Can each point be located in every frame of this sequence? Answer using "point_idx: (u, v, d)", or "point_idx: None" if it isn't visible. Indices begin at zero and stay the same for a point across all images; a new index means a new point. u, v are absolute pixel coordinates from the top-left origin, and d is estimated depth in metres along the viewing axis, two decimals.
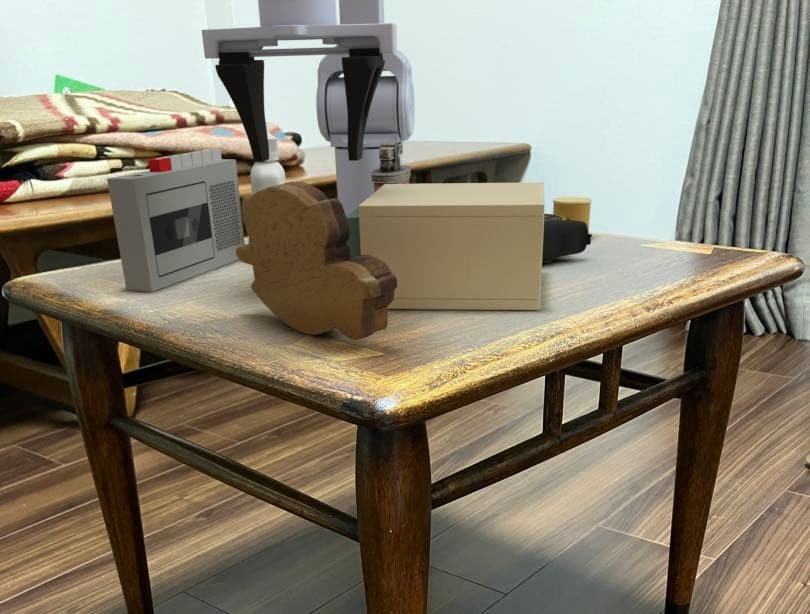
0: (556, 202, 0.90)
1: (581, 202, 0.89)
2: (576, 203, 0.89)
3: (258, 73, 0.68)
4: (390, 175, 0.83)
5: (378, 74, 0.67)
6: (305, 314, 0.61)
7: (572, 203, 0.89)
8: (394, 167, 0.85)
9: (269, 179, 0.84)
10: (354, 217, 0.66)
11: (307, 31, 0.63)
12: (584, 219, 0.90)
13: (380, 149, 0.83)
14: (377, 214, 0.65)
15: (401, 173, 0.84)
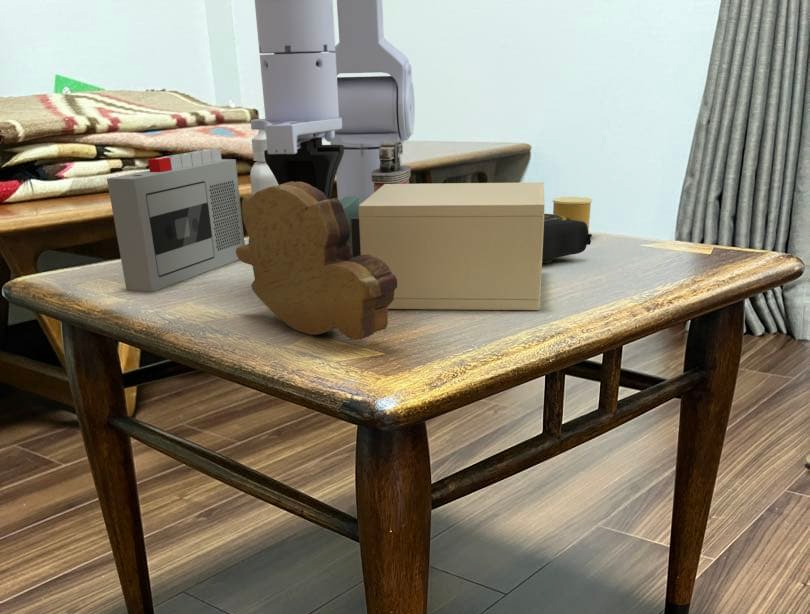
0: (556, 202, 0.90)
1: (581, 202, 0.89)
2: (576, 203, 0.89)
3: None
4: (390, 175, 0.83)
5: (315, 167, 0.68)
6: (305, 314, 0.61)
7: (572, 203, 0.89)
8: (394, 167, 0.85)
9: (269, 179, 0.84)
10: None
11: (263, 126, 0.67)
12: (584, 219, 0.90)
13: (380, 149, 0.83)
14: (377, 214, 0.65)
15: (401, 173, 0.84)
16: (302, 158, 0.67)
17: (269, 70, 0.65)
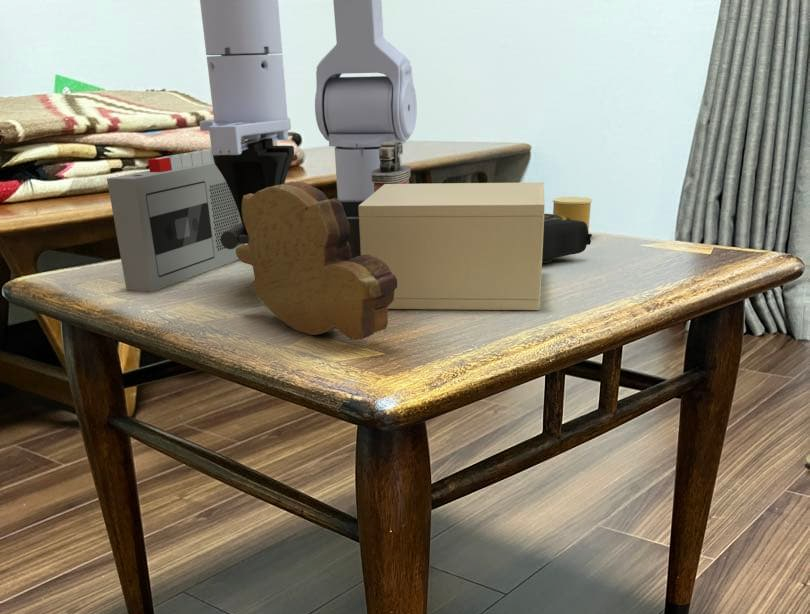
0: (556, 202, 0.90)
1: (581, 202, 0.89)
2: (576, 203, 0.89)
3: None
4: (390, 175, 0.83)
5: (263, 168, 0.68)
6: (305, 314, 0.61)
7: (572, 203, 0.89)
8: (394, 167, 0.85)
9: None
10: None
11: None
12: (584, 219, 0.90)
13: (380, 149, 0.83)
14: (377, 214, 0.65)
15: (401, 173, 0.84)
16: (250, 159, 0.68)
17: (215, 72, 0.65)
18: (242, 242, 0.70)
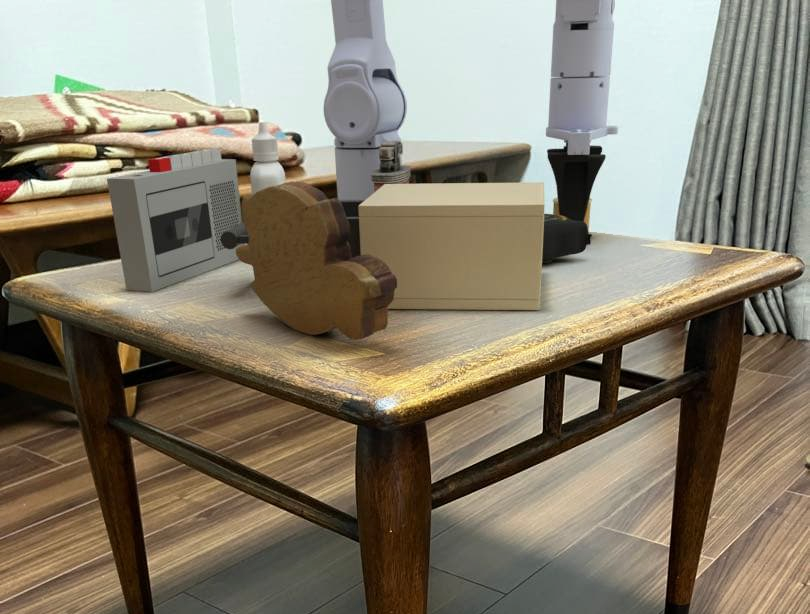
0: (556, 202, 0.90)
1: None
2: None
3: None
4: (390, 175, 0.83)
5: None
6: (305, 314, 0.61)
7: None
8: (394, 167, 0.85)
9: (269, 179, 0.84)
10: None
11: None
12: (584, 219, 0.90)
13: (380, 149, 0.83)
14: (377, 214, 0.65)
15: (401, 173, 0.84)
16: None
17: None
18: (242, 242, 0.70)
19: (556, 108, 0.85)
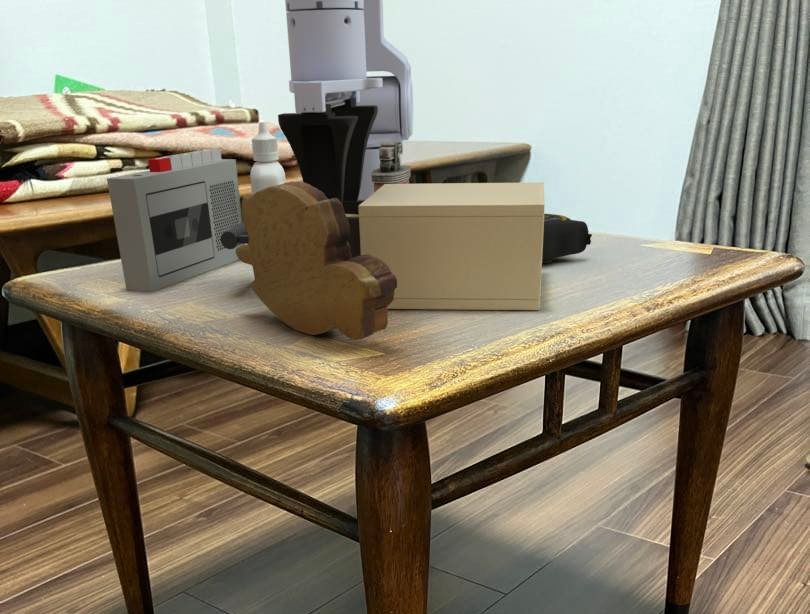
0: None
1: None
2: None
3: None
4: (390, 175, 0.83)
5: None
6: (305, 314, 0.61)
7: None
8: (394, 167, 0.85)
9: (269, 179, 0.84)
10: None
11: None
12: None
13: (380, 149, 0.83)
14: (377, 214, 0.65)
15: (401, 173, 0.84)
16: None
17: None
18: (242, 242, 0.70)
19: (293, 52, 0.64)
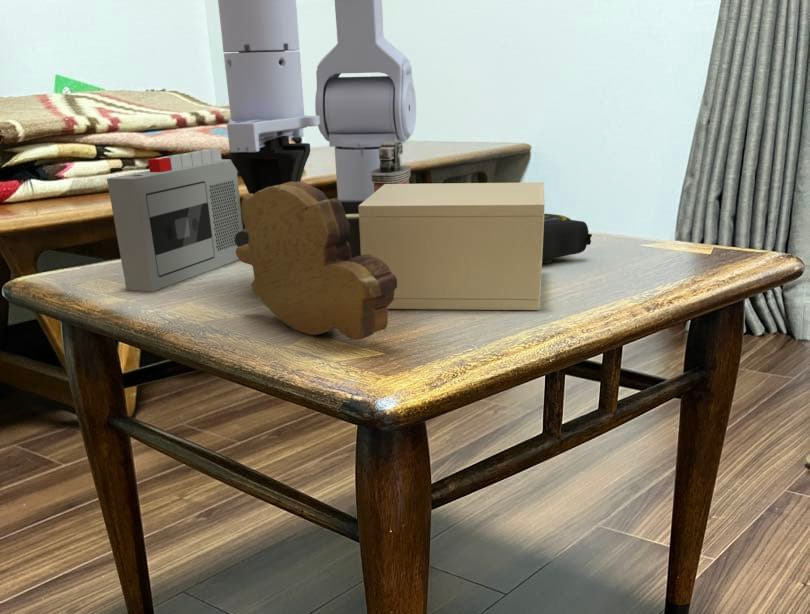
0: None
1: None
2: None
3: None
4: (390, 175, 0.83)
5: None
6: (305, 314, 0.61)
7: None
8: (394, 167, 0.85)
9: None
10: None
11: None
12: None
13: (380, 149, 0.83)
14: (377, 214, 0.65)
15: (401, 173, 0.84)
16: None
17: None
18: None
19: (231, 92, 0.66)
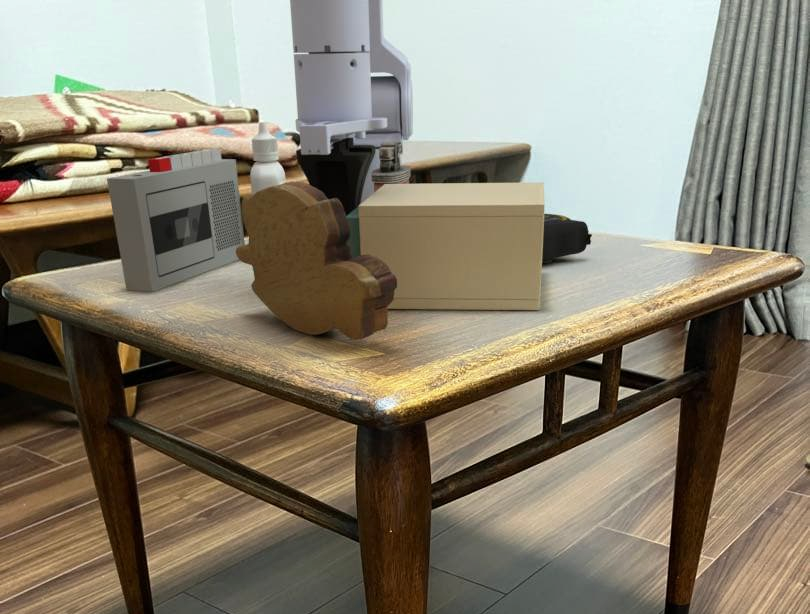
0: None
1: None
2: None
3: None
4: (390, 175, 0.83)
5: None
6: (305, 314, 0.61)
7: None
8: (394, 167, 0.85)
9: (269, 179, 0.84)
10: (354, 217, 0.66)
11: None
12: None
13: (380, 149, 0.83)
14: (377, 214, 0.65)
15: (401, 173, 0.84)
16: None
17: None
18: None
19: (300, 93, 0.65)
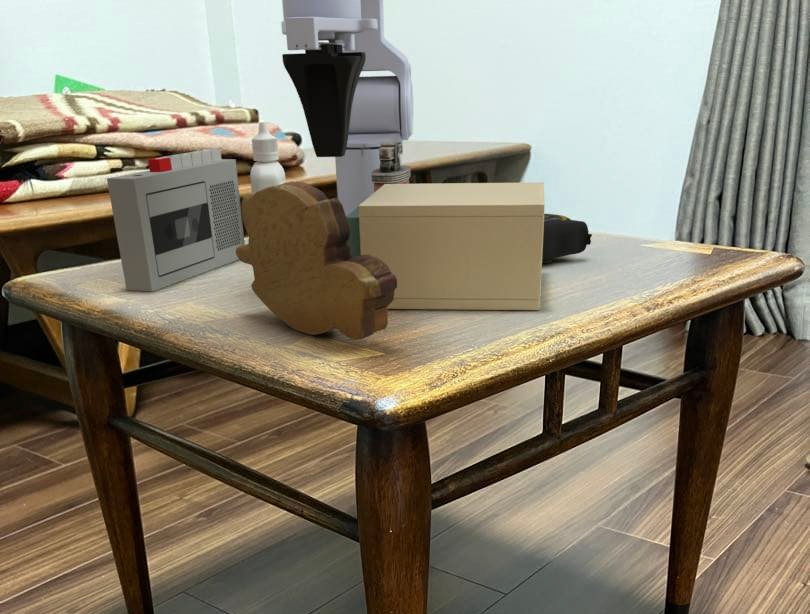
0: None
1: None
2: None
3: None
4: (390, 175, 0.83)
5: None
6: (305, 314, 0.61)
7: None
8: (394, 167, 0.85)
9: (269, 179, 0.84)
10: (354, 217, 0.66)
11: None
12: None
13: (380, 149, 0.83)
14: (377, 214, 0.65)
15: (401, 173, 0.84)
16: None
17: None
18: None
19: None
